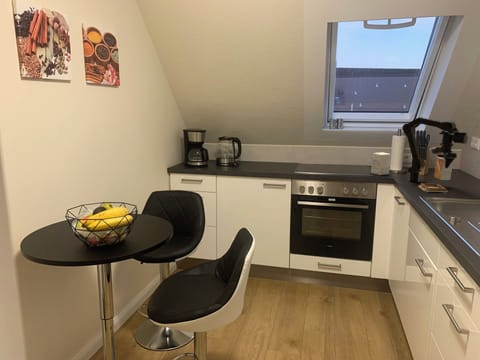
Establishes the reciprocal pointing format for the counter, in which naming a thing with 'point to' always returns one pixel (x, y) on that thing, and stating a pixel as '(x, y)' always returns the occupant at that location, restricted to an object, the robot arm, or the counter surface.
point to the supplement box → (380, 163)
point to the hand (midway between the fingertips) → (443, 166)
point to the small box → (442, 169)
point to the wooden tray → (432, 187)
